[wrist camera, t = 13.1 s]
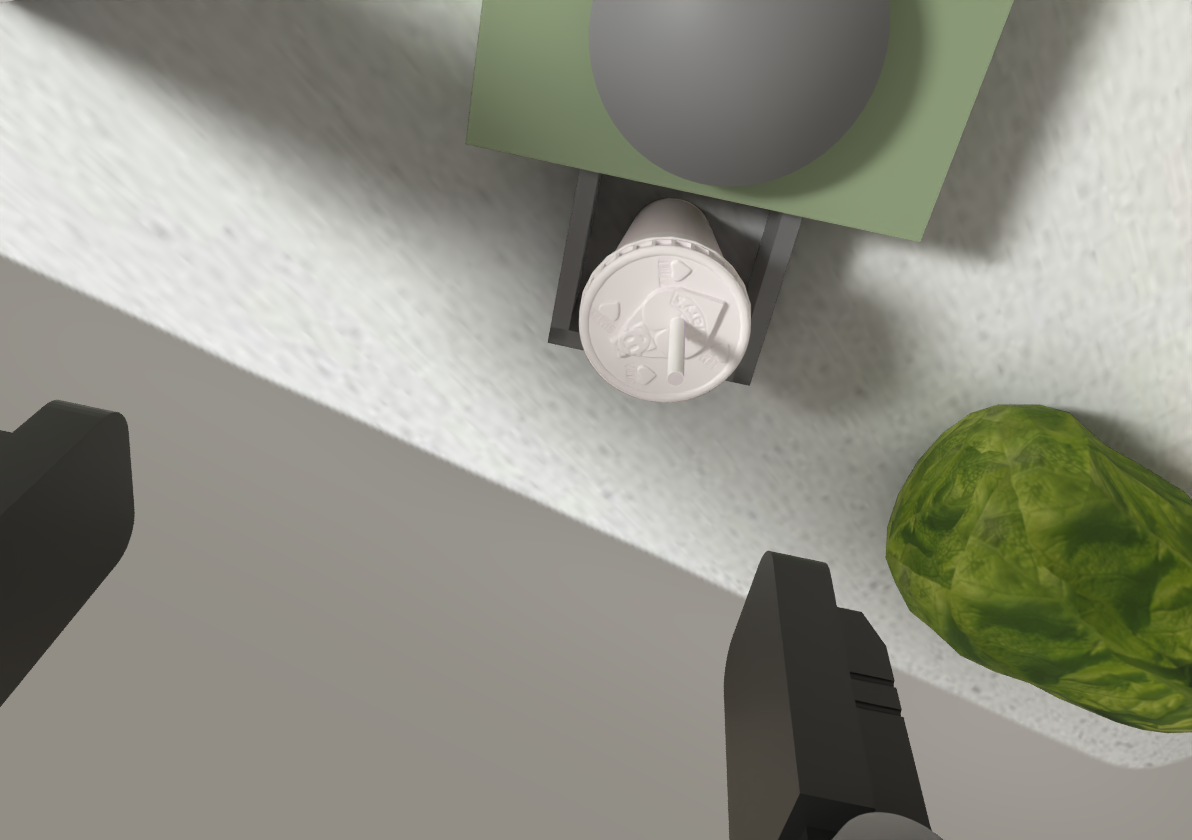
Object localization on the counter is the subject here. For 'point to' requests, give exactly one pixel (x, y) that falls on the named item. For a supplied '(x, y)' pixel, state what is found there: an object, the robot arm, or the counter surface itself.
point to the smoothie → (665, 308)
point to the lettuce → (1052, 563)
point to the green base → (737, 111)
